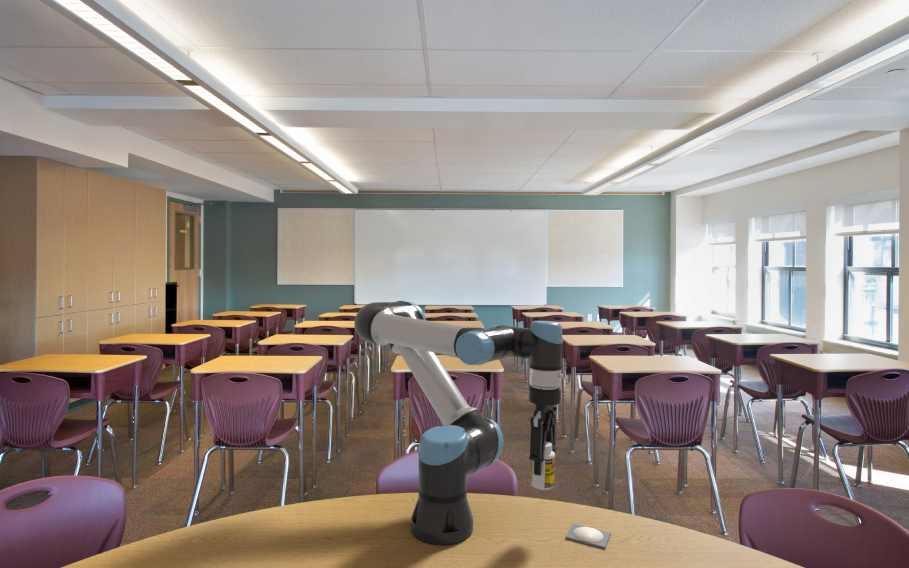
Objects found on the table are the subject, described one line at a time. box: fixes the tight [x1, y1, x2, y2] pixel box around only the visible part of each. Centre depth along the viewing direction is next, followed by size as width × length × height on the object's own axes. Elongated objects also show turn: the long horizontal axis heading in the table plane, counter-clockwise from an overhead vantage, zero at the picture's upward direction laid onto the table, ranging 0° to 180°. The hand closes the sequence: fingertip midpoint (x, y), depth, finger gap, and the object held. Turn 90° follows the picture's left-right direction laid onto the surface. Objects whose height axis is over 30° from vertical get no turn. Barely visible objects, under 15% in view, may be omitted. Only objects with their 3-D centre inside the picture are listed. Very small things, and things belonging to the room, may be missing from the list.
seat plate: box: [565, 523, 612, 550], centre depth 113 cm, size 9×7×1 cm
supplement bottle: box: [530, 441, 556, 491], centre depth 115 cm, size 6×6×10 cm
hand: (542, 482), depth 115 cm, fingers closed on supplement bottle, 6 cm apart
